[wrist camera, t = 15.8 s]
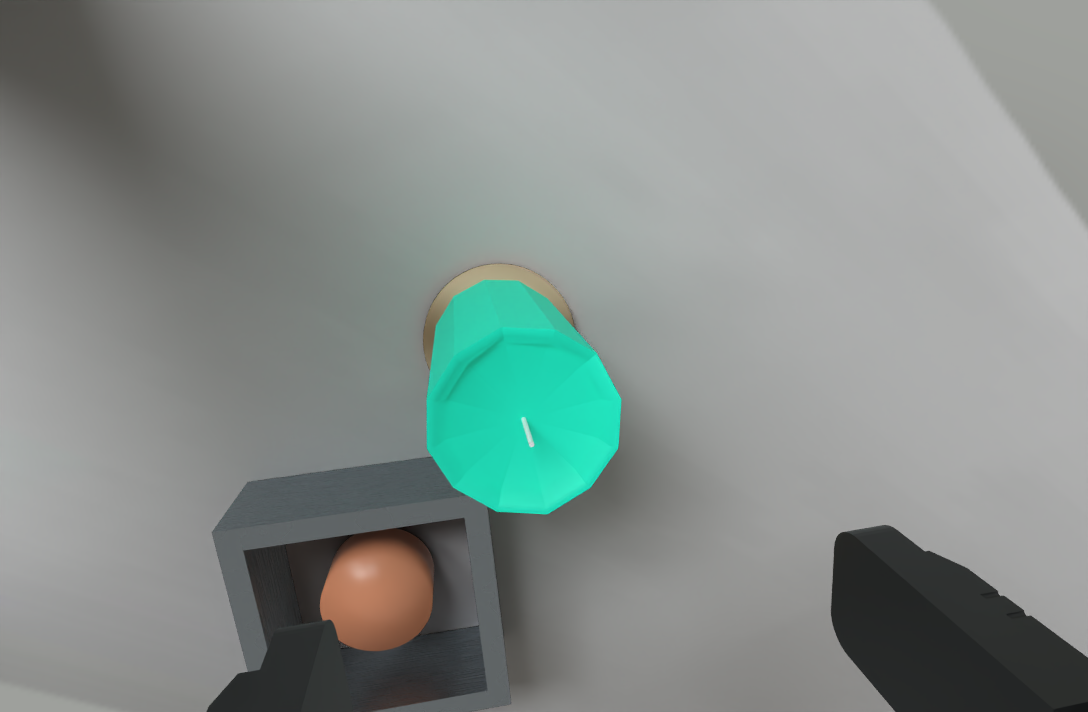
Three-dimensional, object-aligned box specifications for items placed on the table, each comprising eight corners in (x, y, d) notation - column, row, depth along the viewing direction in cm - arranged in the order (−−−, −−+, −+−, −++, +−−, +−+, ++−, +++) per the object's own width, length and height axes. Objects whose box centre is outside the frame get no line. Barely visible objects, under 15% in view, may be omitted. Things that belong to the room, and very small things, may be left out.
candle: (575, 386, 29) (653, 510, 18) (452, 418, 29) (452, 566, 17) (548, 264, 28) (616, 314, 16) (418, 295, 27) (392, 370, 16)
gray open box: (247, 482, 29) (211, 532, 25) (480, 450, 30) (485, 492, 26) (293, 673, 32) (267, 749, 28) (503, 637, 33) (511, 704, 29)
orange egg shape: (322, 535, 30) (310, 565, 27) (427, 519, 30) (424, 548, 28) (340, 623, 31) (330, 659, 28) (440, 606, 31) (439, 640, 29)
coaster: (413, 271, 28) (412, 273, 27) (566, 256, 28) (569, 257, 28) (434, 417, 29) (434, 422, 29) (577, 398, 30) (580, 403, 30)
